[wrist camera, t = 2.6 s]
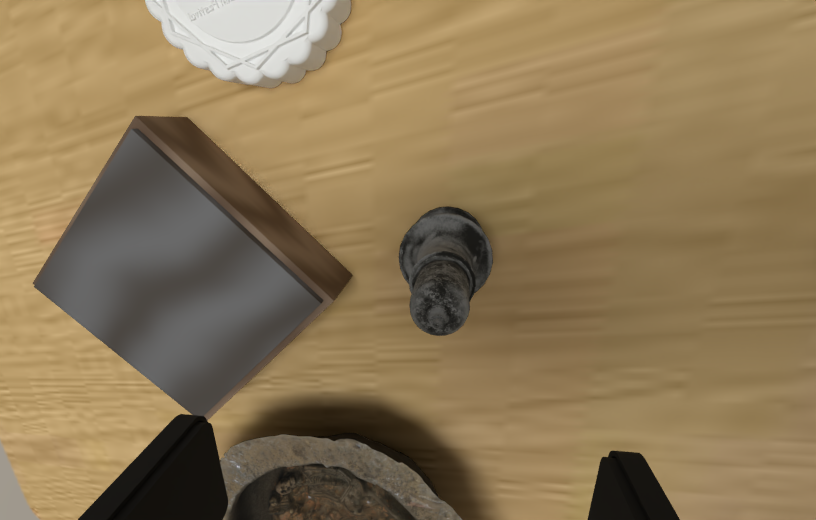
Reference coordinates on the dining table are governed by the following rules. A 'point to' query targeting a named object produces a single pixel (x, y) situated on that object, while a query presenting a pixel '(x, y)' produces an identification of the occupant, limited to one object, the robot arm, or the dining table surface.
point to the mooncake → (253, 36)
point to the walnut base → (187, 265)
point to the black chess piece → (444, 268)
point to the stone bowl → (326, 481)
